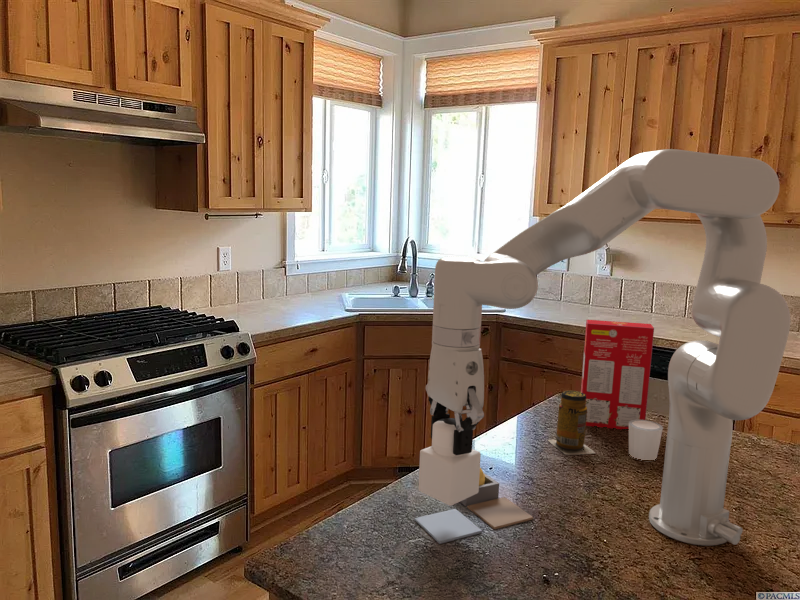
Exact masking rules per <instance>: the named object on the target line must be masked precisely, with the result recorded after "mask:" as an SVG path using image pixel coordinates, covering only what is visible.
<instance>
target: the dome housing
mask: <svg viewBox="0 0 800 600" xmlns="http://www.w3.org/2000/svg"><path fill="white" fill-rule="evenodd" d="M483 473H484V472H483ZM484 474H485V485H480V486H479V492H478V493H477V494H475V495H473V496H471V497H469V498H466V499H464V500H462V501H460V502H459V503H460V504H462V505H463V506H464V507H467V506H469V505H473V504H477V503H481V502H486V501H490V500H494V499H498V498H499V493H500V491H499V490H500V483H499V482H498V481H497V480H495V479H493V478H492V477H491V476H489V475H487V474H486V472H485V473H484Z"/></svg>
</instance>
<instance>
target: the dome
mask: <svg viewBox="0 0 800 600" xmlns="http://www.w3.org/2000/svg"><path fill="white" fill-rule="evenodd" d="M485 474H486V473H485ZM485 474H484V471H483V469H482V467H480V474H479V486H480V485H485Z"/></svg>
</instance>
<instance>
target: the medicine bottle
mask: <svg viewBox="0 0 800 600" xmlns="http://www.w3.org/2000/svg"><path fill="white" fill-rule="evenodd" d="M454 430H457V427H456V420H455V417H450V418H444V419H440V420H437V421H436V422H435V423H434V424H433V431H432V439H431V446H428V447H425V448H423V449H421V450H420V451H419V465H418V466H419V467H418V469H419V470H418V471H419V472H418V491H419V492H420V493H422V494H424V495H426V496H429V497H431V498H433V499H434V500H437V501H439V502H441V503H443V504H445V505H447V506H449V507H452V506H453V505H456V504H458V503H460V501H462V500H464V499H466V498H469V497H471V496H473V495H475V494H477V493H478V492H479V474H480V468H481V452H480V451H477V450H475V449H473V448H472V452H471V453H467V454H461V455H455V454H453V441H454Z"/></svg>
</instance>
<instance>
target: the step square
mask: <svg viewBox="0 0 800 600" xmlns="http://www.w3.org/2000/svg"><path fill="white" fill-rule="evenodd" d="M466 507H467V509H468V510H469V511H470V512H472V513H473V514H474V515H475V516H477V517H478V518H479V519H481V520H482V521H483V522H485V524H487V525H488V526H490V528H492V529H493V530H497V529H501V528H505V527H508V526H509V527H510V526H513V525H516V524H521V523H524V522H529V521H532V520H534V517H533V516H532V515H531V514H530V513H528V512H527V511H525V510H524V509H523V508H521V507H520V506H518V505H517V504H516V503H514V502H513V501H511V500H509V498H507V497H505V496H503V497H498V499H494V500H490V501H486V502H481V503H477V504H473V505H469V506H466Z"/></svg>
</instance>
